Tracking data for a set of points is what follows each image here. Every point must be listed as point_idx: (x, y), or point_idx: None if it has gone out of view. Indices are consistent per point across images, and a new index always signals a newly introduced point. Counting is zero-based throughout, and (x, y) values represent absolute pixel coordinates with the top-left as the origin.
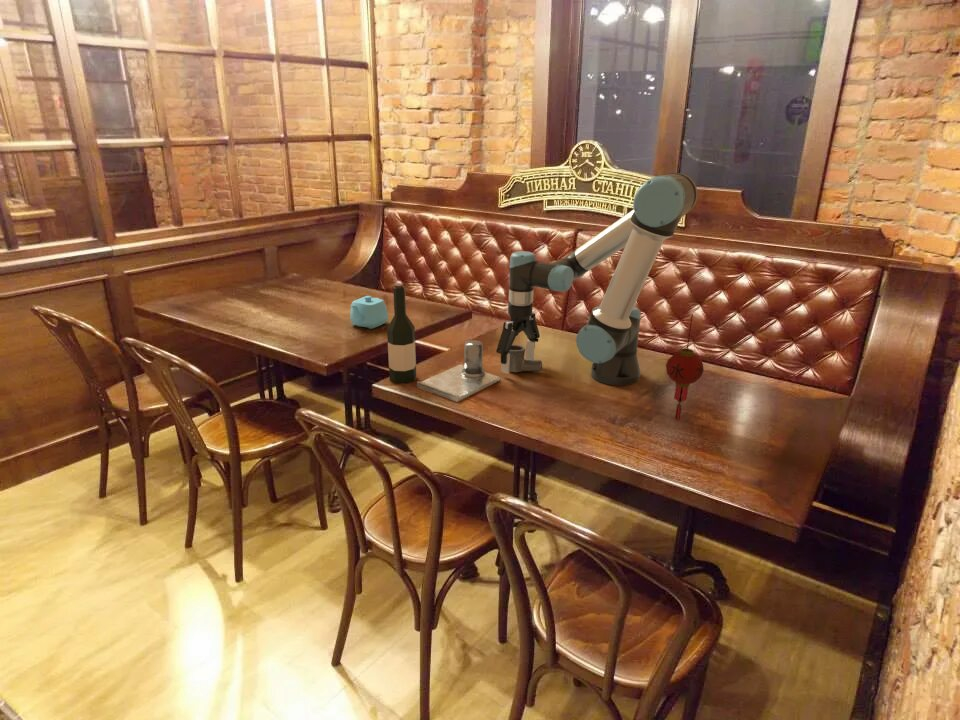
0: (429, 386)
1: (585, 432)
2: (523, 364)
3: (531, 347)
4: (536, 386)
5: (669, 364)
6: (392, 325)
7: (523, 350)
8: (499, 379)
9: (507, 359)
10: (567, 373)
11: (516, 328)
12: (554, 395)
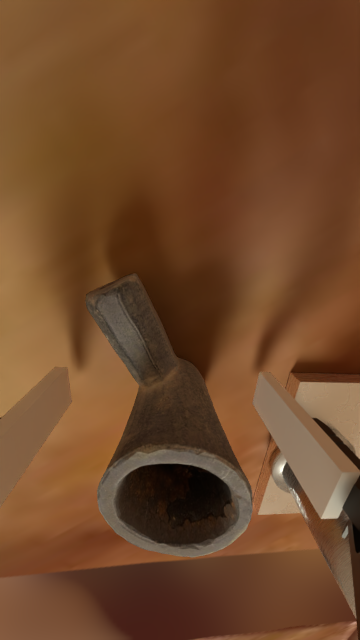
0: None
1: None
2: (176, 365)
3: (11, 443)
4: (279, 210)
5: None
6: None
7: (180, 444)
8: (293, 375)
9: (321, 436)
10: (15, 140)
11: None
12: (355, 35)
